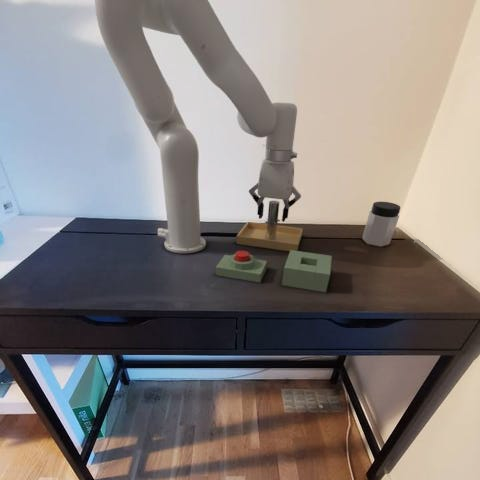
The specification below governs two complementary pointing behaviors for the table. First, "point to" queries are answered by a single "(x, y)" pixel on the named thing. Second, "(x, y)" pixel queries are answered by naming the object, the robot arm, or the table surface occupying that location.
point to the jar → (381, 223)
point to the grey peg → (272, 220)
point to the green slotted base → (307, 271)
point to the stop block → (241, 268)
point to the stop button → (242, 256)
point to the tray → (257, 237)
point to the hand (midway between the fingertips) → (272, 218)
